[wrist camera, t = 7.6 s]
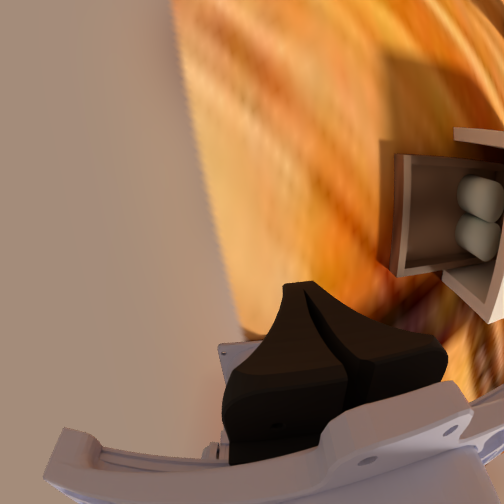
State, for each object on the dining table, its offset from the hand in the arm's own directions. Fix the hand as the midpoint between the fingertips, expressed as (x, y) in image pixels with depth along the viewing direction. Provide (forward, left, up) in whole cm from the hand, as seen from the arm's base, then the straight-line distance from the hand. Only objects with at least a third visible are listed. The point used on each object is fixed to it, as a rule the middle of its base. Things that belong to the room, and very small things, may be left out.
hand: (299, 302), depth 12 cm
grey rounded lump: (+2, -19, -10) cm, 21 cm away
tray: (+1, -17, -11) cm, 20 cm away
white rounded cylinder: (-1, -19, -10) cm, 21 cm away
